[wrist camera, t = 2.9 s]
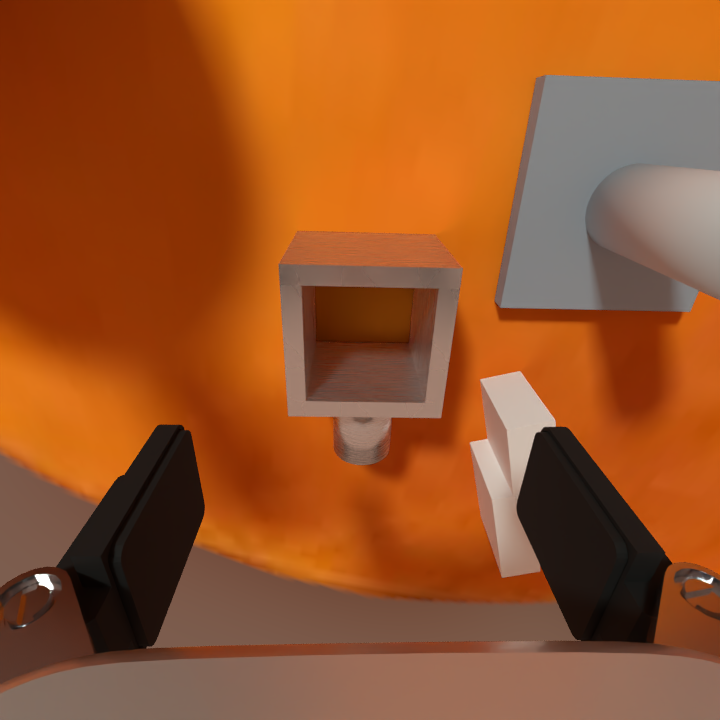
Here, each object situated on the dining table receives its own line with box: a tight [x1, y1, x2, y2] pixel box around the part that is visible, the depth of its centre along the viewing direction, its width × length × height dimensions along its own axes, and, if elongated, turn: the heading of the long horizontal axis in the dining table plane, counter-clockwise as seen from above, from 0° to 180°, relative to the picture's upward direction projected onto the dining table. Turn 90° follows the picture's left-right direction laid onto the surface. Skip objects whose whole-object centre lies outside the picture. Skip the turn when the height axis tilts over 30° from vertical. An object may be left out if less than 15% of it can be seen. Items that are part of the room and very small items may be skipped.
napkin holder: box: [470, 371, 556, 578], centre depth 25 cm, size 15×11×6 cm
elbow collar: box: [279, 231, 463, 465], centre depth 21 cm, size 10×7×6 cm, turn 178°
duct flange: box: [495, 75, 720, 312], centre depth 16 cm, size 10×10×10 cm
